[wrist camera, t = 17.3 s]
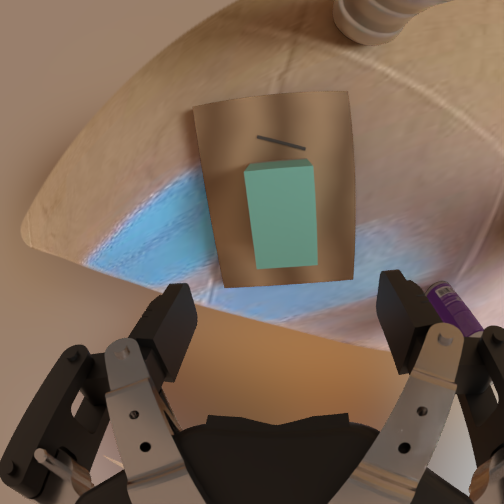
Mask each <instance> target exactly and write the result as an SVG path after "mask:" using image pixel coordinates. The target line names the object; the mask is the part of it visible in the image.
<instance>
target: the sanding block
mask: <svg viewBox="0 0 504 504" xmlns="http://www.w3.org/2000/svg"><path fill="white" fill-rule="evenodd" d="M244 177H245V185H246V192H247V200H248V207H249V215H250V222H251V230H252V237H253V245H254V252H255V260H256V267H257V269H268V268H283V267H298V266H312V265H318V252H317V220H316V200H315V183H314V169H313V165H312V164H311V163H310V162H309V160H308V159H307V158H302V159H288V160H275V161H265V162H255V163H250V164H249V166H248V167H247V168H246V169H245V171H244Z"/></svg>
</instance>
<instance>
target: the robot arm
mask: <svg viewBox="0 0 504 504" xmlns="http://www.w3.org/2000/svg"><path fill="white" fill-rule="evenodd" d="M376 311H377V316H378V319H379V321H380V324H381V326H382V329H383V332H384V334H385V337H386V340H387V342H388V345H389V348H390V351H391V353H392V356H393V359H394V362H395V365H396V368H397V370H398V374H399V375H401V374H406V373H409V375H410V376H409V379H408V381H407V383H406V385H405V387H404V390H403V392H402V393H401V395H400V397H399V399H398V401H397V403H396V405H395V407H394V409H393V411H392V412H391V414H390V416H389V418H388V420H387V422H386V423H385V425H384V427H383V428H382V430H381V432H380V431H378V430H376V429H374V428H372V427H370V426H366V425H363V424H359V423H354V422H349V417H348V413H343V414H334V415H323V416H312V417H309V418H305V419H302V420H298V421H294V422H290V423H286V424H281V425H271V424H267V423H262V422H258V421H254V420H250V419H246V418H242V417H228V416H214V415H208V418H207V422H206V424H202V425H198V426H193V427H190V428H187V429H185V430H182V428H181V427H180V425H179V423H178V421H177V419H176V417H175V415H174V413H173V410H172V408H171V406H170V404H169V402H168V400H167V397H166V396H165V393H164V391H163V389H162V384H163V382H164V381H165V382H175V379H176V377H177V374H178V372H179V369H180V366H181V363H182V361H183V359H184V356H185V354H186V351H187V349H188V346H189V343H190V341H191V339H192V336H193V334H194V331H195V329H196V326H197V312H196V308H195V305H194V301H193V298H192V294H191V291H190V288H189V285H188V284H187V283H177V284H169V285H168V287H167V288H166V290H165V291H164V293H163V295H159V296H158V297H157V298H156V299H154V300H153V301H152V302H151V303H150V304H149V306H148V307H147V309H146V311H145V312H144V313H143V315H142V318H140V319H139V321H138V323H137V324H136V326H135V327H134V329H133V330H132V332H131V333H130V335H129V337H128V338H122V339H119V340H116V341H115V342H113V343H112V344H110V345H109V346H108V347H107V349H106V351H105V353H98V354H90V353H89V351H88V349H87V348H86V347H85V346H84V345H74V346H71V347H69V348H68V349H66V350H65V351H64V352H63V353H62V355H61V356H60V358H59V359H58V361H57V362H56V364H55V365H54V367H53V368H52V370H51V371H50V373H49V374H48V376H47V377H46V379H45V380H44V382H43V384H42V385H41V387H40V389H39V390H38V392H37V393H36V395H35V397H34V398H33V400H32V402H31V403H30V405H29V407H28V408H27V410H26V412H25V414H24V415H23V417H22V419H21V421H20V423H19V425H18V426H17V429H16V430H15V432H14V434H13V436H12V438H11V440H10V442H9V444H8V446H7V448H6V450H5V452H4V454H3V456H2V459H1V461H0V477H1V479H2V481H3V482H4V483H5V484H6V485H7V486H9V487H10V488H12V489H13V490H15V491H17V492H18V493H20V494H21V495H22V496H24V497H25V498H27V499H29V500H30V501H32V502H34V503H36V504H504V329H503V328H501V327H499V326H489V327H487V328H485V329H484V331H483V333H482V335H481V338H480V337H463V334H462V332H461V331H460V330H459V329H458V328H457V327H455V326H454V325H451V324H448V323H443V321H442V320H441V318H440V317H439V315H438V313H437V312H436V310H435V309H434V307H433V306H432V304H431V302H429V299H428V298H427V296H425V293H424V292H423V291H422V289H421V288H420V286H418V285H417V284H416V283H414V282H413V281H411V280H406V279H405V277H404V276H403V274H402V273H401V271H400V270H388V271H382V272H381V274H380V279H379V287H378V295H377V302H376ZM491 382H493V384H494V386H495V388H496V391H497V393H498V397H499V402H498V403H497V400H496V398H495V395H494V393H493V390H492V388H491V386H490V383H491ZM79 390H80V392H81V393H82V394H83V395H84V399H83V401H82V403H81V405H80V407H79V409H78V411H77V413H76V415H75V417H73V416H72V413H71V406H72V403H73V401H74V399H75V397H76V396H77V394H78V392H79ZM455 394H457V396H458V399H459V402H460V404H461V408H462V411H463V414H464V418H465V421H466V425H467V428H468V432H469V435H470V439H471V443H472V447H473V451H474V456H475V460H476V465H477V469H476V471H475V472H474V474H473V477H472V480H471V484H470V486H469V493H470V495H469V497H468V496H467V495H466V494H464V493H462V492H461V491H460V490H458V489H457V488H455V487H454V486H452V485H451V484H450V483H448V482H447V481H445V480H444V479H442V478H441V477H440V476H438V475H437V474H435V473H434V472H433V471H431V470H430V469H429V468H427V465H428V463H429V461H430V459H431V457H432V454H433V452H434V450H435V448H436V445H437V443H438V441H439V438H440V436H441V433H442V431H443V428H444V426H445V423H446V420H447V417H448V414H449V411H450V408H451V405H452V402H453V399H454V396H455ZM109 421H111V424H112V429H113V433H114V436H115V440H116V444H117V447H118V451H119V454H120V457H121V460H122V463H123V466H124V470H122V471H121V472H119V473H117V474H116V475H114V476H112V477H111V478H109V479H107V480H105V481H104V482H102V483H100V484H99V485H97V486H94V484H93V483H92V482H91V476H90V470H91V467H92V464H93V461H94V459H95V456H96V454H97V451H98V448H99V446H100V443H101V441H102V438H103V436H104V433H105V431H106V428H107V426H108V423H109Z"/></svg>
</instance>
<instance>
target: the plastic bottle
mask: <svg viewBox="0 0 504 504" xmlns="http://www.w3.org/2000/svg"><path fill="white" fill-rule="evenodd" d="M449 1H453V0H334V3H333V19H334V22H335V24H336V26H337V27H338V29H339V30H340V31H341V32H342V33H343V34H344V35H345V36H346V37H348V38H349V39H351V40H353V41H355V42H357V43H359V44H363V45H369V46H375V45H380V44H384V43H388V42H390V41H392V40H394V39H395V38H396V37H397V36H398V35H399V33H400V32H401V31H402V29H403V27H404V26H405V25H406V24H407V23H408V22H409V21H410V20H411V19H412V18H413V17H414V16H415V15H417V14H419V13H420V12H423V11H425V10H427V9H428V8H430V7H433V6H436V5H439V4H442V3H446V2H449Z"/></svg>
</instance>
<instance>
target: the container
mask: <svg viewBox="0 0 504 504" xmlns="http://www.w3.org/2000/svg"><path fill="white" fill-rule="evenodd" d="M425 296H427V298H428V299H429V302H431V304H432V306H433V307H434V309H435V310H436V312H437V313H438V315H439V317H440V318H441V320H442V321H443V323H448V324H451V325H454V326H455V327H457V328H458V329H459V330H460V331H461V332H462V334H463V337H480V338H481V335H482V333H483V331H484V329H483V328H482V326H481V325H480V324H479V322H478V321H477V319H476V318H475V317H474V315H473V314H472V313H471V311H470V310H469V309H468V307H467V306H466V305H465V303H464V302H463V301H462V300H461V298H460V297H459V296H458V294H457V293H456V292H455V291H454V290H453V288H452V287H451V286H450V285H449V284H448V283H447V282H444V281H441V282H437V283H435V284H434V285H432V286H431V287H430V288H429V289H428V290H427V292H426V293H425ZM492 384H493V382H491V383H490V386H491V385H492Z"/></svg>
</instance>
